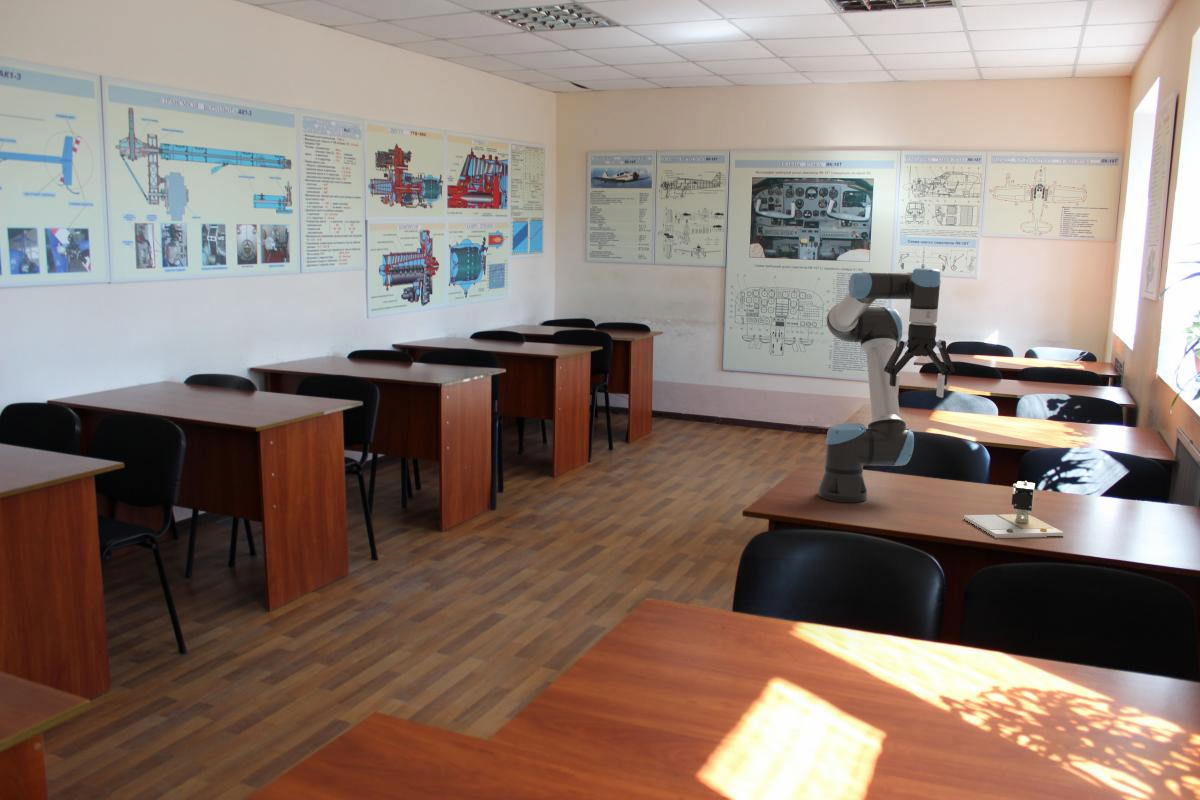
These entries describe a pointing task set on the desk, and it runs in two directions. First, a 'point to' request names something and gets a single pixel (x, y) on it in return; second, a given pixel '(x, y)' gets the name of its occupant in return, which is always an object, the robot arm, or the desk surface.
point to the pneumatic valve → (1023, 500)
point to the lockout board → (1012, 526)
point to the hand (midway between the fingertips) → (917, 397)
